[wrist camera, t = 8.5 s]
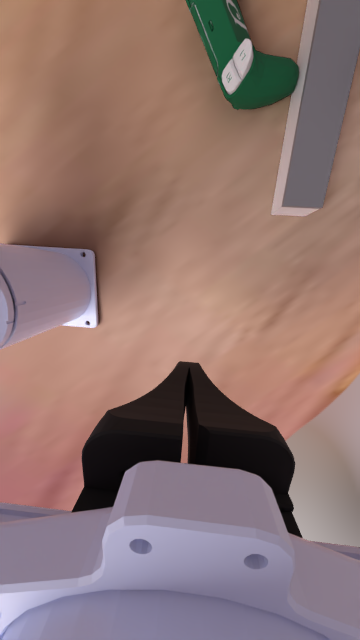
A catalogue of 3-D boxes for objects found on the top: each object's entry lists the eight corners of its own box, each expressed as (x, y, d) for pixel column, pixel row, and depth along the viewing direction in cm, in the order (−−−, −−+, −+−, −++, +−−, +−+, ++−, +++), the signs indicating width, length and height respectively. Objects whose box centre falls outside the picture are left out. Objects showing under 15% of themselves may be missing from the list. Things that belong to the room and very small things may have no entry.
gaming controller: (214, 13, 15) (160, -27, 12) (256, -76, 12) (199, -165, 8) (259, 131, 17) (224, 126, 13) (306, 81, 14) (275, 59, 10)
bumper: (270, 214, 16) (283, 205, 14) (315, -45, 12) (342, -115, 10) (304, 216, 16) (322, 207, 14) (360, -46, 12) (397, -116, 10)
